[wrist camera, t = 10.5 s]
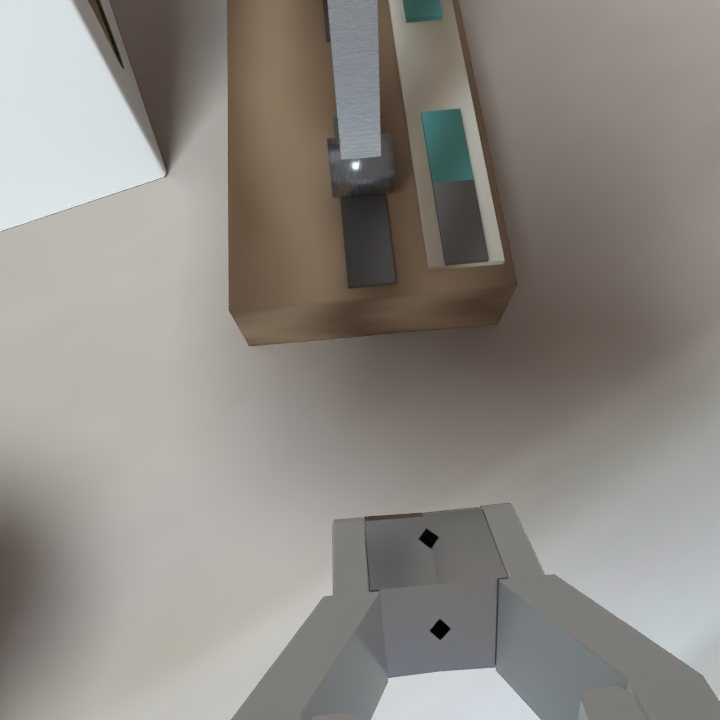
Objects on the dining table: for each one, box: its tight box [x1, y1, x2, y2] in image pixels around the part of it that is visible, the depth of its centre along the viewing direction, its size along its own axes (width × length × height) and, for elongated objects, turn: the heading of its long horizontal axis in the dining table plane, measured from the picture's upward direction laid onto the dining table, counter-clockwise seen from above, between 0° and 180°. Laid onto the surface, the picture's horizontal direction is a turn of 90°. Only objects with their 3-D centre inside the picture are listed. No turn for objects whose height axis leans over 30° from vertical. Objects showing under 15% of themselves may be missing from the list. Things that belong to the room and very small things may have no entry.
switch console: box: [227, 0, 517, 346], centre depth 29 cm, size 12×24×4 cm, turn 5°
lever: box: [327, 0, 395, 198], centre depth 19 cm, size 3×3×14 cm
